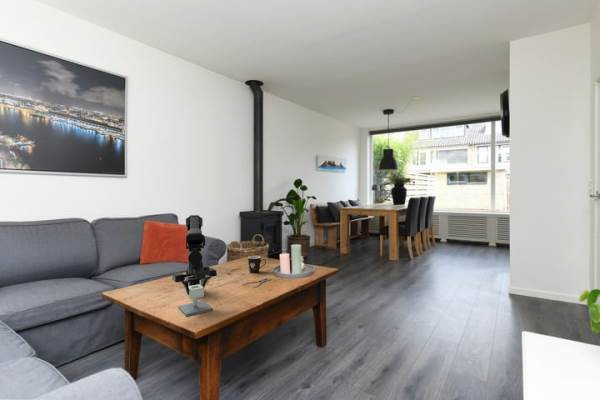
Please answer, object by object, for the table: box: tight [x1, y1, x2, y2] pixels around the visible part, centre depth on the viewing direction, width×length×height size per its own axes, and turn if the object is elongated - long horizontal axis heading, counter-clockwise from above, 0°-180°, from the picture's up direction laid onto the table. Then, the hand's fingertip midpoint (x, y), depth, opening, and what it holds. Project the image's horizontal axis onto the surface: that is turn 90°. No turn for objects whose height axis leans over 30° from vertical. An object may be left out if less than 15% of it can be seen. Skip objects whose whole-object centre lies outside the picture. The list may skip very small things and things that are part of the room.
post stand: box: [177, 297, 214, 317], centre depth 145 cm, size 12×12×7 cm
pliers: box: [241, 277, 272, 289], centre depth 188 cm, size 10×1×20 cm
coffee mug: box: [247, 255, 267, 274], centre depth 211 cm, size 12×9×10 cm
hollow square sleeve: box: [186, 283, 205, 300], centre depth 145 cm, size 6×6×4 cm
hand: (195, 293), depth 145 cm, fingers closed on hollow square sleeve, 6 cm apart
